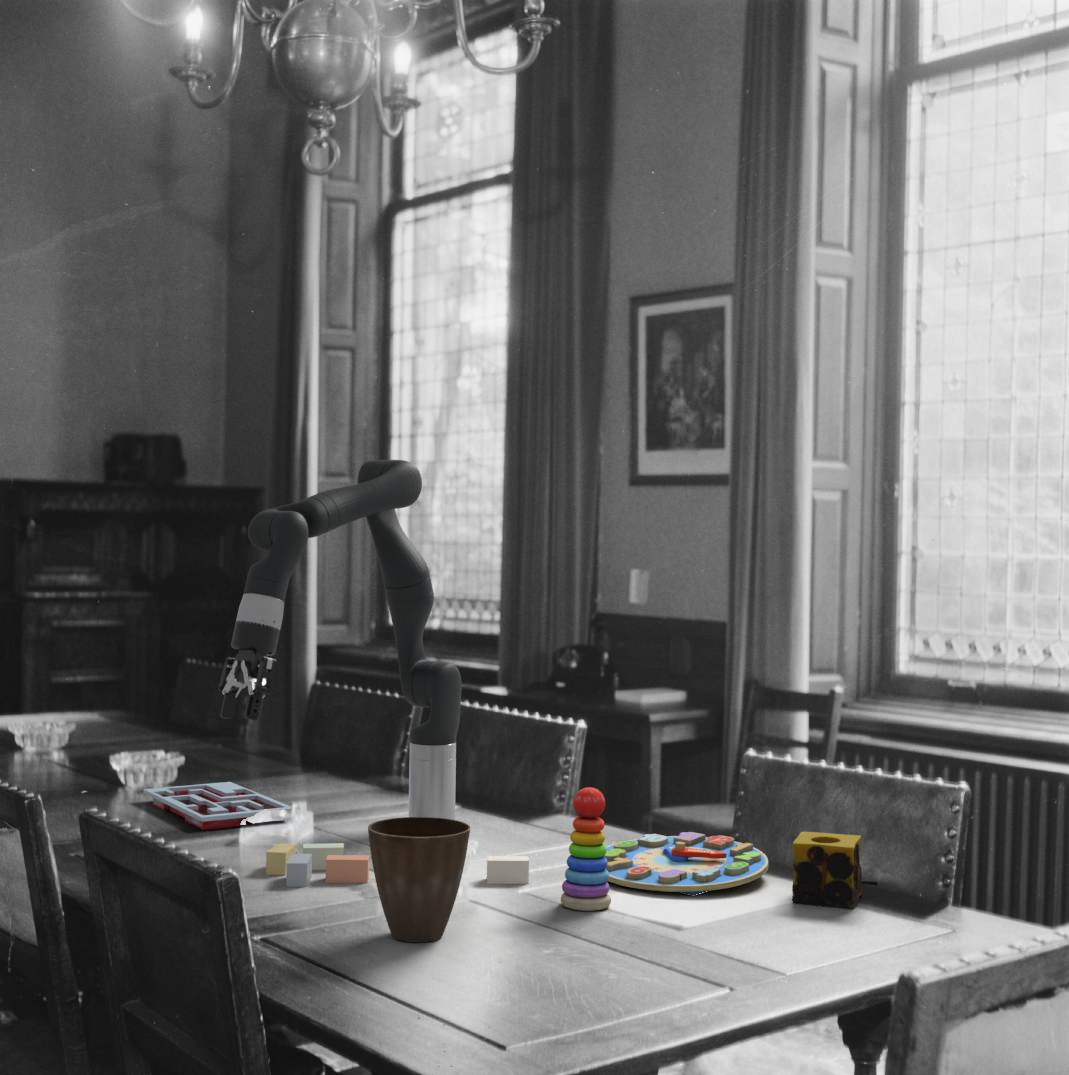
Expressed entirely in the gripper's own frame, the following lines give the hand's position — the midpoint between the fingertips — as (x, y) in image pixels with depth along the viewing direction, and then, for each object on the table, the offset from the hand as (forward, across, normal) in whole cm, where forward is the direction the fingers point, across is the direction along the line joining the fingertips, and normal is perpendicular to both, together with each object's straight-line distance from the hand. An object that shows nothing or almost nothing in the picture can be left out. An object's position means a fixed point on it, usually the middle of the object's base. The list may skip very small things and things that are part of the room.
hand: (237, 719), depth 236 cm
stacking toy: (+20, -43, -45) cm, 65 cm away
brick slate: (+24, -3, -16) cm, 29 cm away
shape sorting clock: (+13, -37, -71) cm, 81 cm away
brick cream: (+19, -23, -44) cm, 53 cm away
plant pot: (+28, -41, -15) cm, 52 cm away
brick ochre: (+23, +6, -17) cm, 30 cm away
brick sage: (+22, +3, -24) cm, 32 cm away
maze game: (+16, +58, -30) cm, 68 cm away
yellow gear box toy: (+13, -63, -79) cm, 102 cm away
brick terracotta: (+23, -7, -23) cm, 33 cm away
